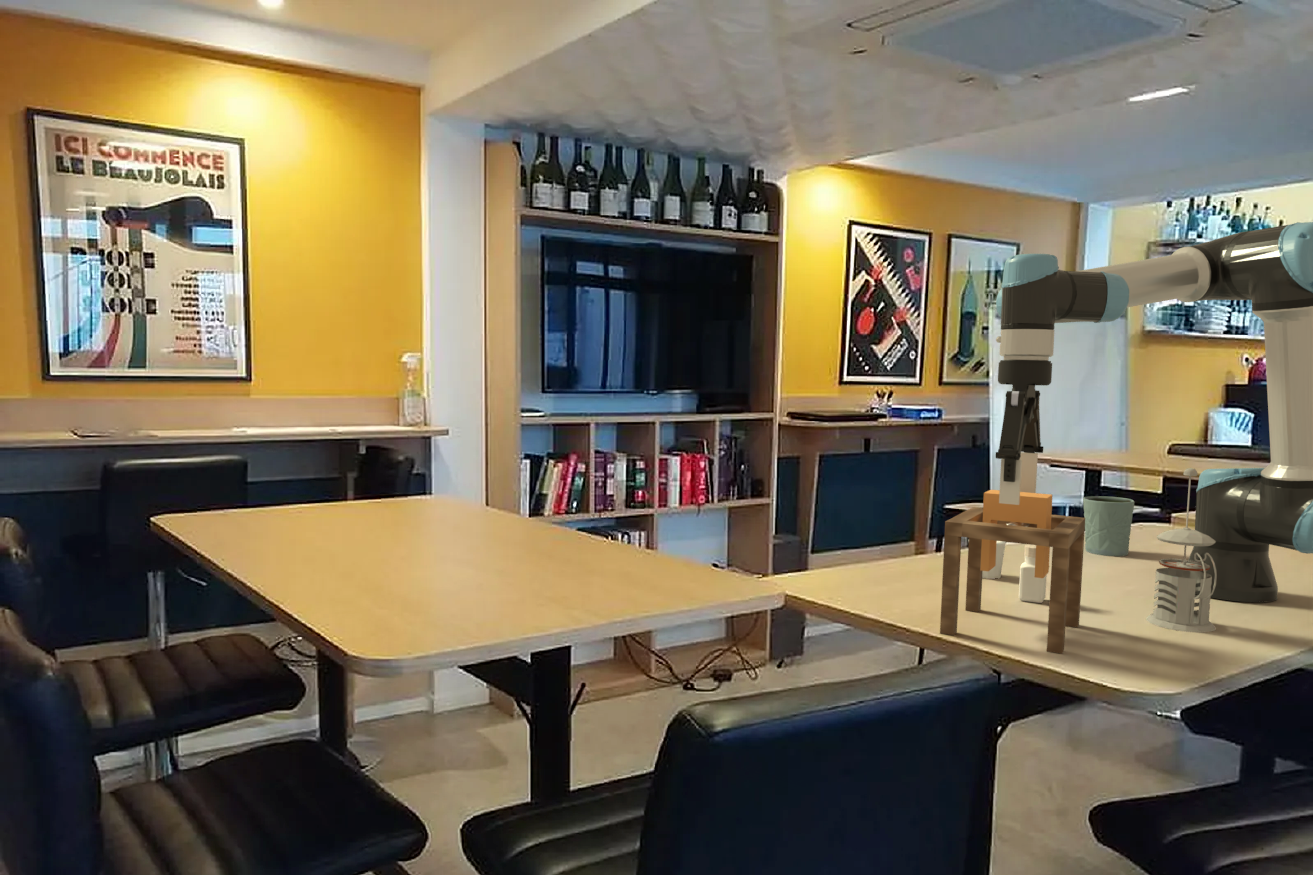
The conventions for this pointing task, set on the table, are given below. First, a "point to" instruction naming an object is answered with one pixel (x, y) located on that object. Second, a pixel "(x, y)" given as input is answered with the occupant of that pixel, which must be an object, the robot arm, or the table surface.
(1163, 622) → the french press
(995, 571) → the white cup
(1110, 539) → the green plant pot
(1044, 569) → the orange arch block
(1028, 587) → the white pill bottle
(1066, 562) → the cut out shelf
